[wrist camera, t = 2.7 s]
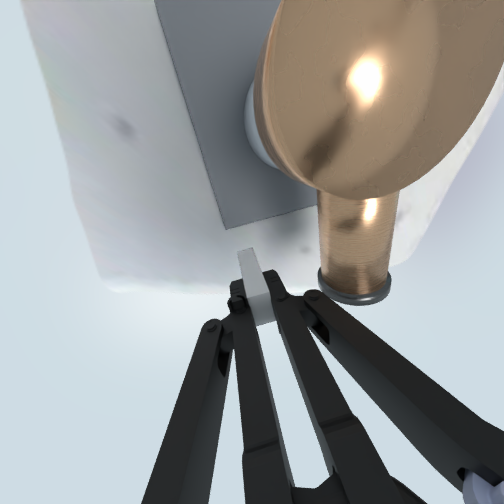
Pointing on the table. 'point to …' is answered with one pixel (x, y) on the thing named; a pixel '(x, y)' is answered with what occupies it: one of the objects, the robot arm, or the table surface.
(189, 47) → the duct stub
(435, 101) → the copper flat bottle shape
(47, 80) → the table surface
